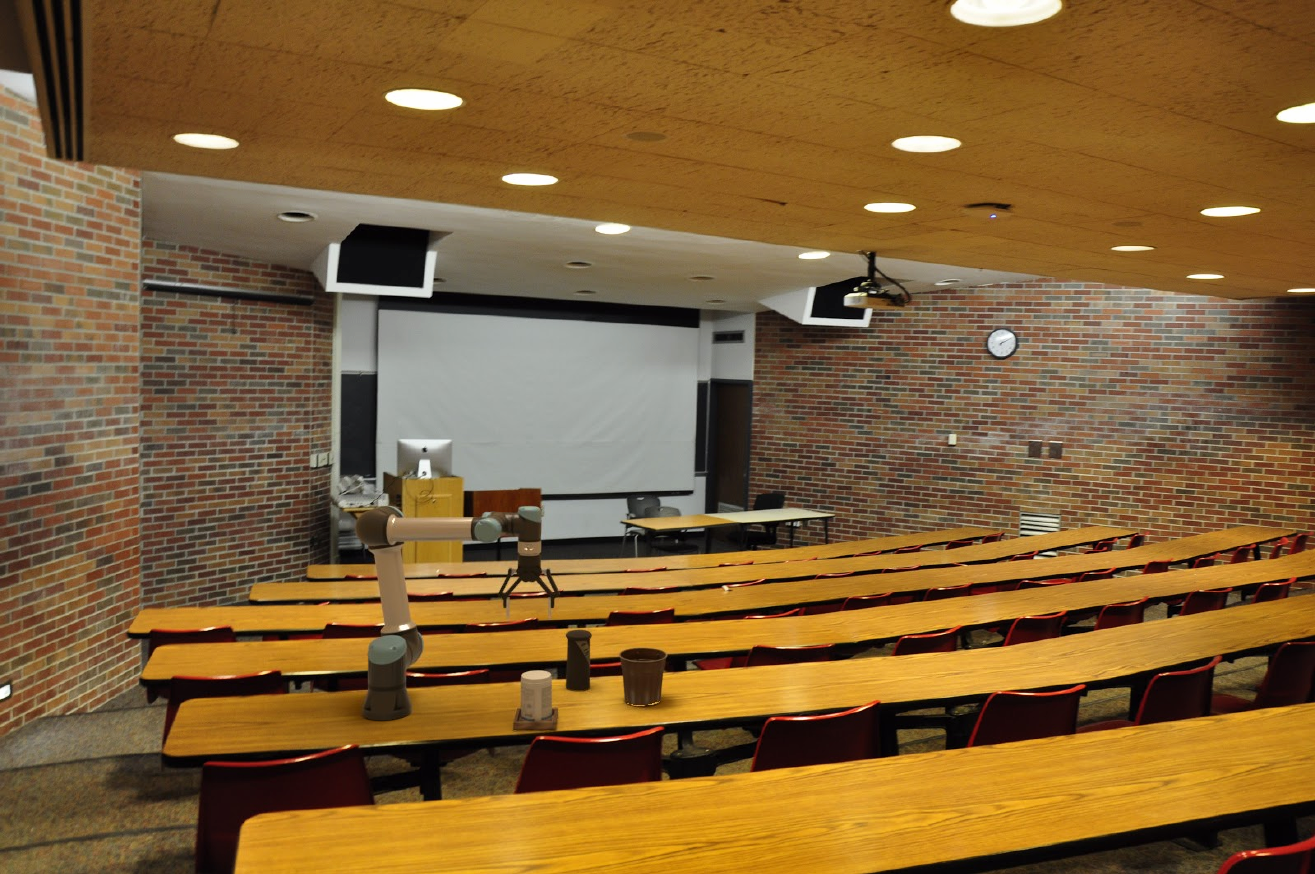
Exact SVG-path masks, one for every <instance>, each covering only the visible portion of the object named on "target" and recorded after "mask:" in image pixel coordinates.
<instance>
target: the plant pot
mask: <svg viewBox="0 0 1315 874" xmlns="http://www.w3.org/2000/svg"><path fill="white" fill-rule="evenodd" d="M618 656H619V658H620V667H621V670H622V671H621V672H622V683H623V685H622V686H623V697H624V698H623V699H624V702H625V703H626V702H627V703H629V704H633V705H647V706H648V704H652V703H655V702H659V701H660V700H661V699H662V689H663V679H664V670H665V667H666V662H667V661H666V660H667V657H668V653H667V652H666V651H664V650H662V649H659V648H654V647H653V648H652V647H631V648H627V649H623V650H622V651H620V652H619V653H618ZM660 702H661V701H660ZM627 703H626V704H627ZM629 704H628V705H629Z"/></svg>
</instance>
